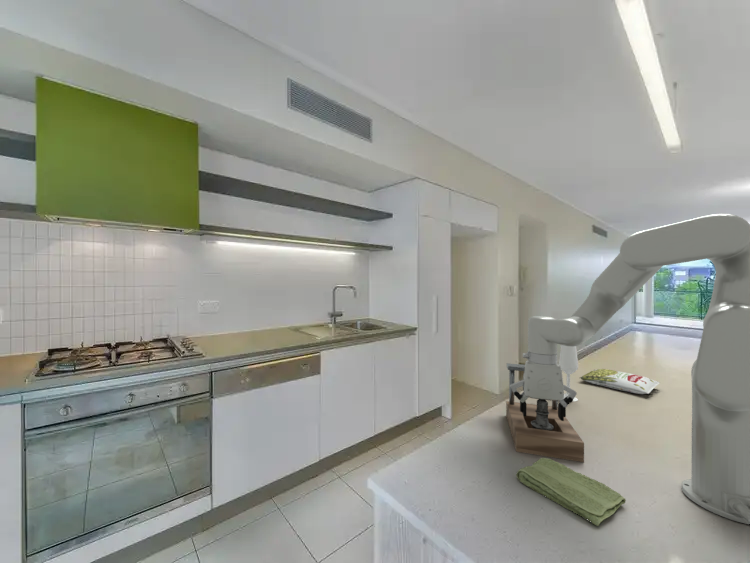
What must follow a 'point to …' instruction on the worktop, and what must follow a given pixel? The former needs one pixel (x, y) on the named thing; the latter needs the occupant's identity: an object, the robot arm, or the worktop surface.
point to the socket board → (544, 434)
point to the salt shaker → (542, 416)
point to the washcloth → (571, 489)
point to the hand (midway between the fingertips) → (542, 416)
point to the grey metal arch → (512, 380)
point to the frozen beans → (620, 381)
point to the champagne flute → (568, 363)
